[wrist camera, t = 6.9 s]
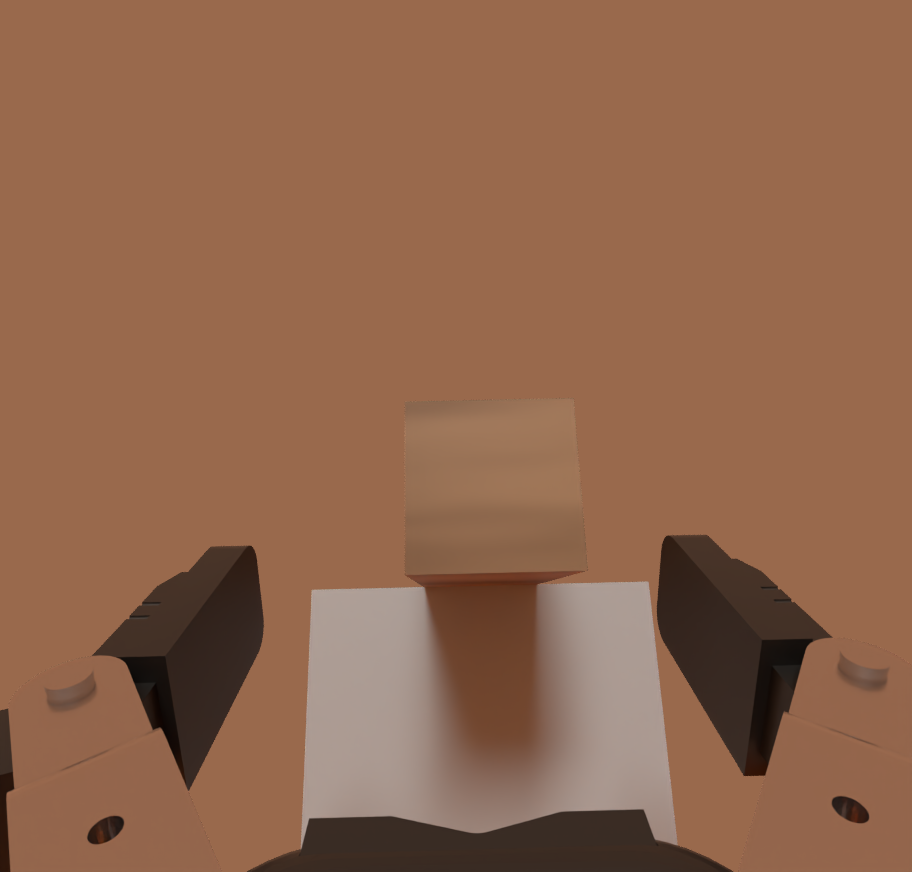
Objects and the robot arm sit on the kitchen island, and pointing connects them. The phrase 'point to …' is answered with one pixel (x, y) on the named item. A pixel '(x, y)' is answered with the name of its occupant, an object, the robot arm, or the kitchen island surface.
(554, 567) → the walnut bar
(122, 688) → the robot arm
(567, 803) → the tall white pillar
